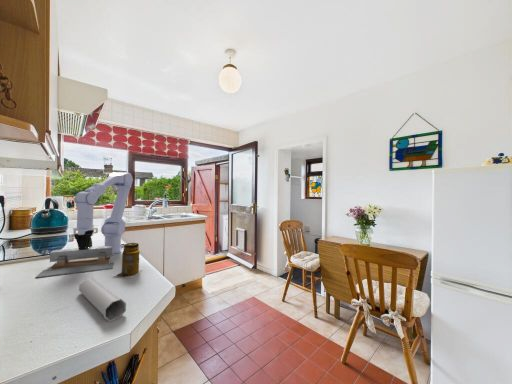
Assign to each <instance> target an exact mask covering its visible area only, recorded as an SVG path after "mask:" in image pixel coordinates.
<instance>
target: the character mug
mask: <svg viewBox="0 0 512 384" xmlns="http://www.w3.org/2000/svg"><path fill="white" fill-rule="evenodd" d="M92 230H94V232H93V233H92V235H91V238H90V242H89V245H88V246H86V248H88V247H93V241H92V240H93V239H92V237H93V236H94V234H98V231H99V229H98V227H95V225H94V224H93V229H92ZM78 232H79V231H77V230H73V235H74V234H78Z"/></svg>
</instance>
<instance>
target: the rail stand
mask: <svg viewBox="0 0 512 384" xmlns="http://www.w3.org/2000/svg"><path fill="white" fill-rule="evenodd" d="M111 259H112V256H106V257H105V253H99V254H98V257H96V258H86V259H76V260H66V256H65V257H58V258H57V261H56V262H54V264H52V265H51V266H50V269H58V268H67V267H76V266H85V265H94V264H103V263H111V262H110V261H111Z"/></svg>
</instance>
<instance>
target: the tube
mask: <svg viewBox="0 0 512 384" xmlns="http://www.w3.org/2000/svg"><path fill="white" fill-rule="evenodd" d="M78 291H79V292H80V294H82V295H83V296H84V298H86V299H87V300H88V301H89V302H90V303H91V304H92V305H93V307H95V308H96V309H97V310H98V311H99V312H100V313H101V314H102V315H103V318H104V319H105V320H107V321H108V322H112V321H114V320H117V319H119V318H121V317H122V316H123V315H124V313H126V311H127V302H126V301H124V300H123V299H122V298H121V297H120V298H119V297H118V296H117V295H116V294H115V293H113V292H112V291H110V290H109V289H108V288H106V287H105V286H104V285H102V284H101V283H100V282H99V281H97V280H96V279H95V278H93V277H90V278H86V279H84V280H83V281H81V283H79V284H78Z"/></svg>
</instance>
